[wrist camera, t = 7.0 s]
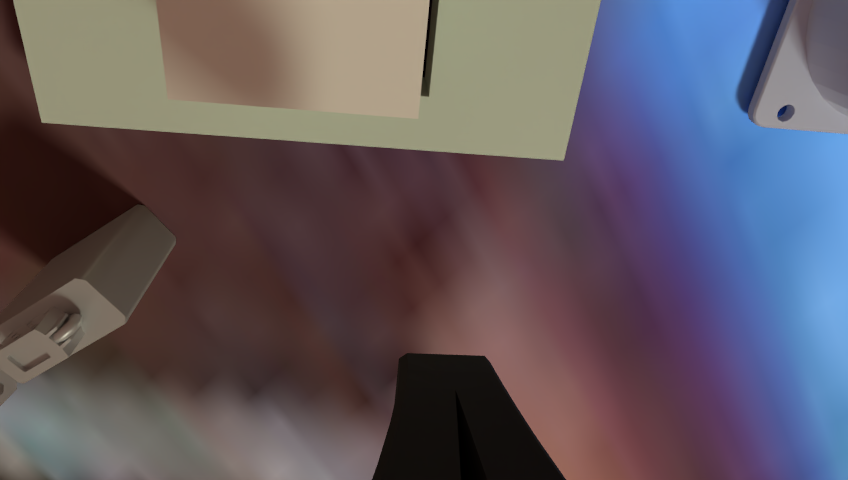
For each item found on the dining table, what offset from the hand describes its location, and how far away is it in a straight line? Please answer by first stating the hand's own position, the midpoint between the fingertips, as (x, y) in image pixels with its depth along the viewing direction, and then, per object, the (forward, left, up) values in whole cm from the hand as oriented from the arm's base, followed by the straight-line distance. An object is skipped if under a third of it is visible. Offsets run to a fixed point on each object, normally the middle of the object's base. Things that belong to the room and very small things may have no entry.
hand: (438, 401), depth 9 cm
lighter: (+11, +5, -11) cm, 16 cm away
